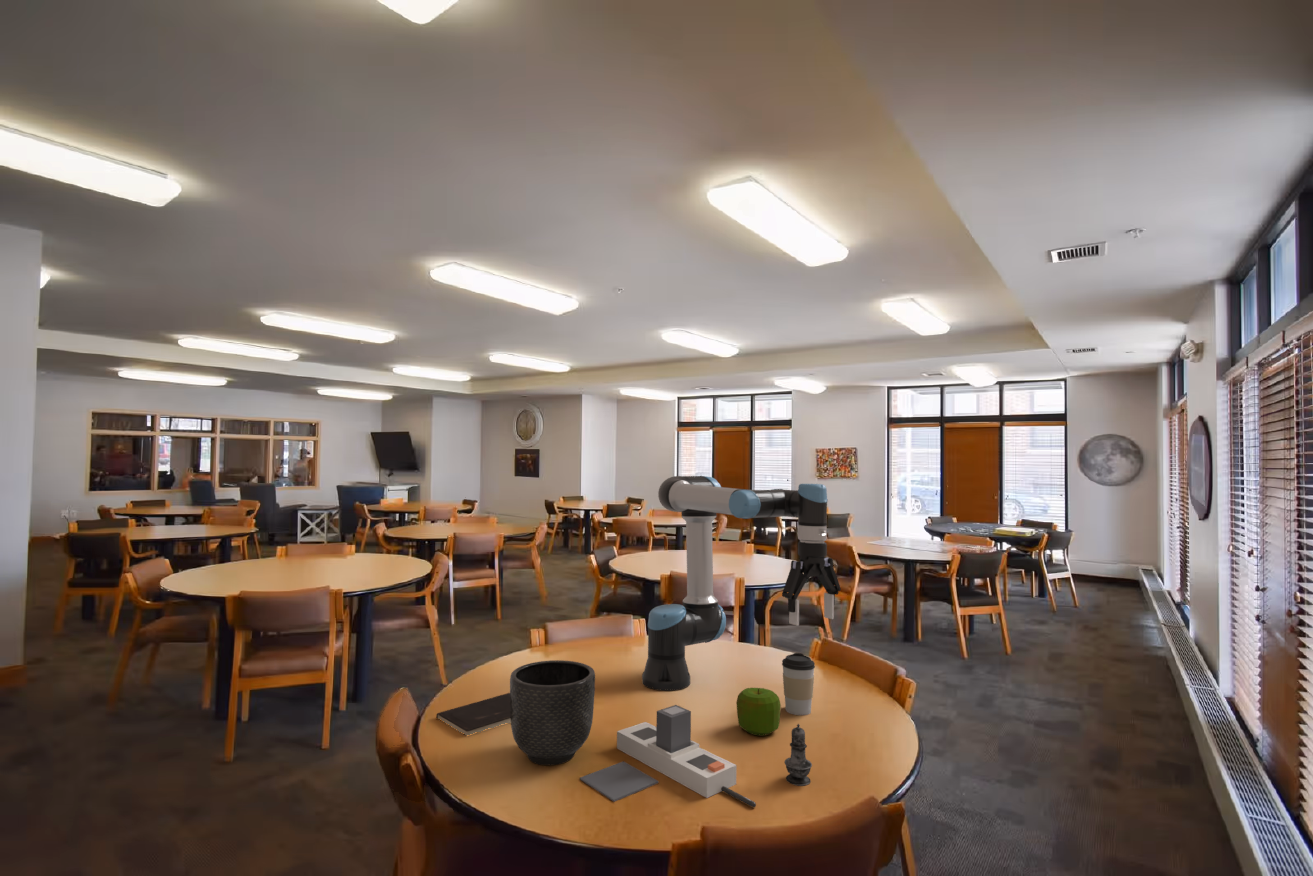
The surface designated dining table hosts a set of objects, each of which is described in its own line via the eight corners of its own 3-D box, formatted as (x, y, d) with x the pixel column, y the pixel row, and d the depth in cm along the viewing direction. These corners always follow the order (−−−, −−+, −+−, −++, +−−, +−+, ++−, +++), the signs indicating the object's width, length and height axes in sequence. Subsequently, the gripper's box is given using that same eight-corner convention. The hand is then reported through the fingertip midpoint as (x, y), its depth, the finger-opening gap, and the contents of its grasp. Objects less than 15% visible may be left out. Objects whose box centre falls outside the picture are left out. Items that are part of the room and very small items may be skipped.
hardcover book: (543, 714, 174) (543, 706, 174) (466, 739, 158) (466, 730, 158) (510, 699, 186) (511, 691, 186) (436, 721, 169) (436, 712, 169)
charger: (656, 747, 145) (656, 710, 145) (675, 739, 149) (675, 704, 149) (671, 754, 141) (671, 717, 141) (690, 747, 145) (690, 710, 145)
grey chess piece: (781, 773, 141) (781, 718, 142) (807, 773, 142) (807, 718, 143) (788, 787, 136) (789, 729, 136) (815, 786, 136) (815, 729, 137)
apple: (782, 725, 168) (783, 683, 169) (776, 742, 158) (776, 697, 158) (741, 719, 172) (741, 678, 172) (732, 735, 162) (732, 691, 162)
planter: (555, 784, 135) (557, 693, 136) (489, 760, 146) (491, 676, 147) (610, 750, 152) (611, 669, 153) (547, 731, 162) (549, 655, 163)
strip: (616, 748, 153) (617, 727, 153) (645, 738, 159) (645, 718, 159) (740, 816, 124) (740, 791, 124) (769, 801, 130) (769, 777, 130)
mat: (579, 779, 138) (579, 777, 138) (623, 763, 146) (623, 761, 146) (613, 802, 129) (613, 799, 129) (658, 783, 136) (658, 781, 137)
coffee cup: (815, 718, 173) (815, 662, 174) (781, 715, 175) (781, 659, 176) (814, 706, 182) (814, 652, 183) (781, 703, 184) (782, 650, 185)
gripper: (789, 545, 161) (789, 630, 160) (854, 540, 175) (853, 618, 174) (768, 542, 167) (768, 624, 166) (832, 537, 181) (832, 612, 181)
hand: (811, 621), depth 170 cm, fingers open, 13 cm apart
